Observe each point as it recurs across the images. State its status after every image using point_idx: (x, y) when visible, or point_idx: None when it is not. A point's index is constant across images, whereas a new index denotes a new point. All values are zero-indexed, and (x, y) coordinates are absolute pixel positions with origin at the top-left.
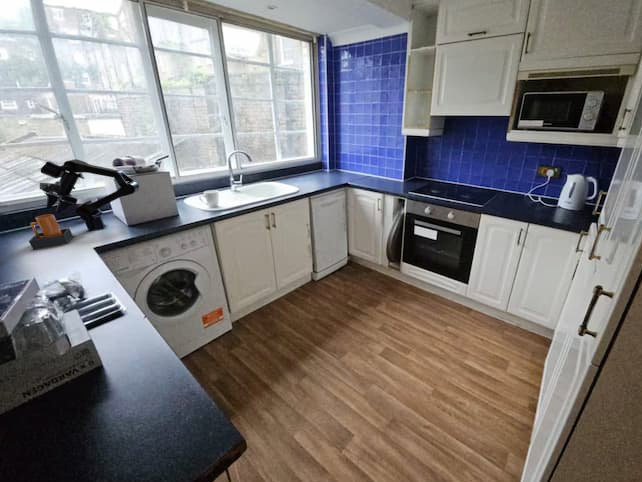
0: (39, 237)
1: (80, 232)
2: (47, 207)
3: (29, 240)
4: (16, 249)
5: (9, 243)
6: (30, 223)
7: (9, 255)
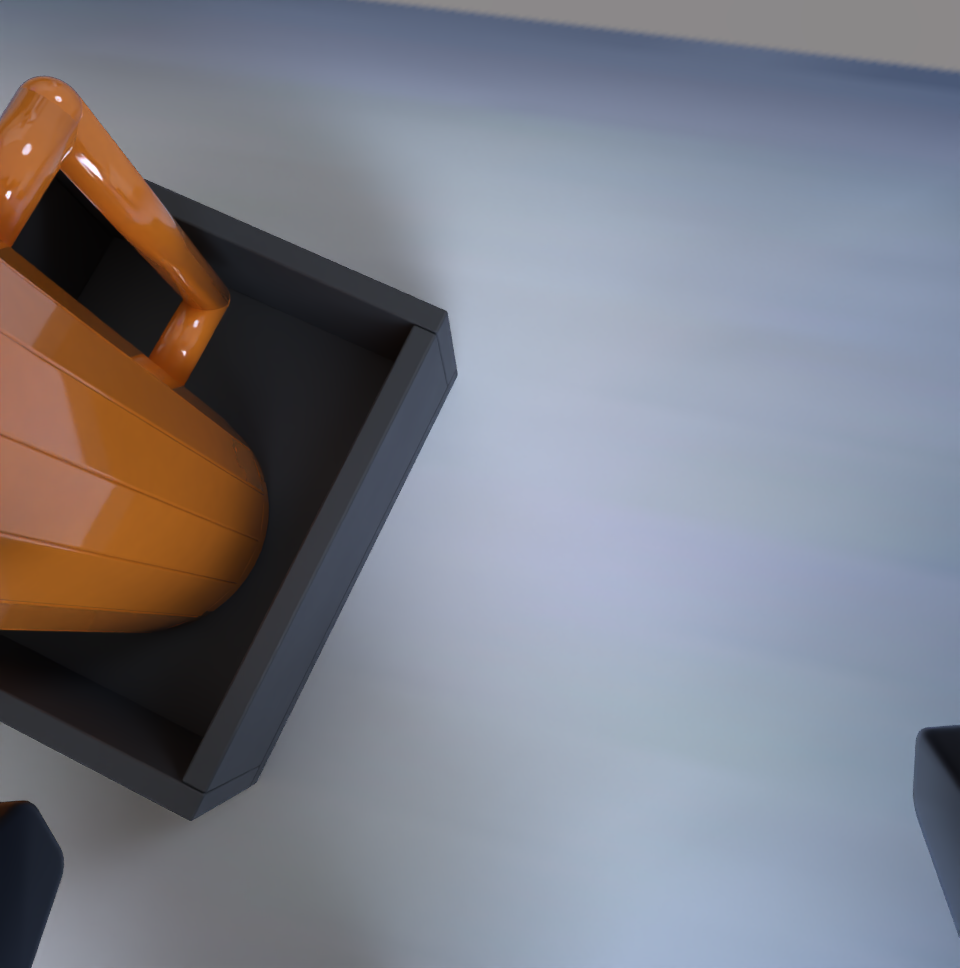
0: (182, 303)
1: (395, 955)
2: (928, 761)
3: None
4: (400, 97)
5: (859, 89)
6: (34, 79)
7: (189, 3)
